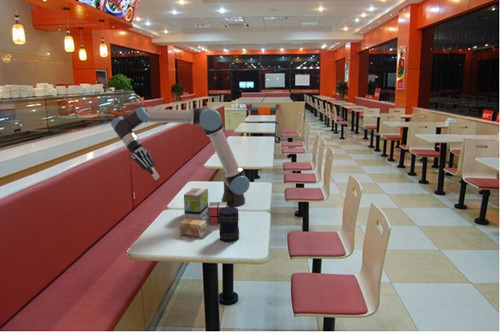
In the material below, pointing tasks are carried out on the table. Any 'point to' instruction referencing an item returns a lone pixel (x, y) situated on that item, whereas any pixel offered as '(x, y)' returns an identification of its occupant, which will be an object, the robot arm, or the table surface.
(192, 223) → the oak block
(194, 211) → the tea box
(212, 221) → the puzzle cube
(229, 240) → the storage jar
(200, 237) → the mat
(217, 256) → the table surface
